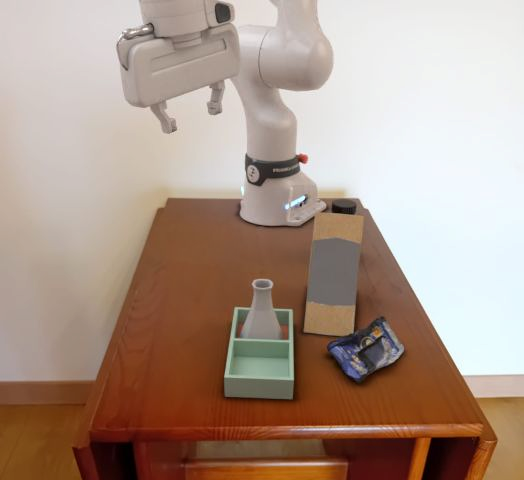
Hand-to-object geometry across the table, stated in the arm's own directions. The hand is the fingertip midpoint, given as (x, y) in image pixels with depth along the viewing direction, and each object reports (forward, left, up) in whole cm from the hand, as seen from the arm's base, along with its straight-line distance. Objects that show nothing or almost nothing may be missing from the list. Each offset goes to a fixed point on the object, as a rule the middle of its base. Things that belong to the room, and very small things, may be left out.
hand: (193, 122), depth 82 cm
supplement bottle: (-29, +9, -30) cm, 42 cm away
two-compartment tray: (+7, +22, -29) cm, 37 cm away
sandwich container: (-12, +21, -30) cm, 38 cm away
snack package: (-4, +34, -30) cm, 45 cm away
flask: (+4, +19, -29) cm, 35 cm away
